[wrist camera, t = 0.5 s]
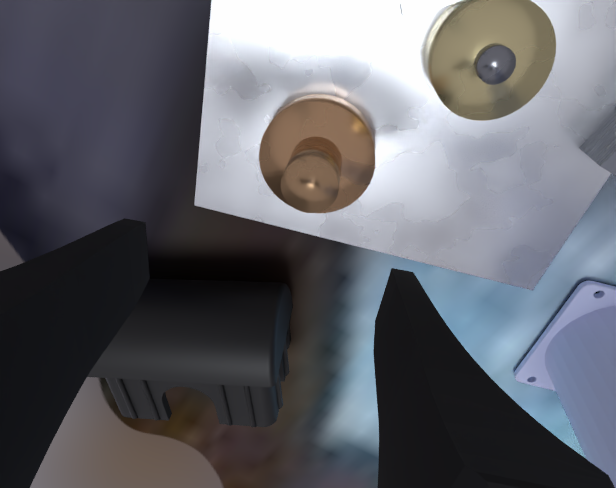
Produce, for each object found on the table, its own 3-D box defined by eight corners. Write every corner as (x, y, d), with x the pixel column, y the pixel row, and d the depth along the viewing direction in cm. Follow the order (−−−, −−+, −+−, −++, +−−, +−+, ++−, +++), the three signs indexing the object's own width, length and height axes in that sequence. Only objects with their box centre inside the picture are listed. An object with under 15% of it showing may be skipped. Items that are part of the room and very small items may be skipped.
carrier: (874, -258, 12) (1063, -341, 9) (526, 278, 23) (553, 331, 20) (259, -437, 12) (217, -595, 8) (200, 196, 23) (172, 236, 19)
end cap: (291, 253, 24) (268, 340, 19) (299, 344, 28) (282, 439, 22) (124, 250, 26) (55, 330, 20) (153, 337, 29) (102, 426, 24)
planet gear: (390, 110, 18) (395, 142, 15) (357, 210, 21) (355, 256, 18) (276, 80, 18) (255, 105, 15) (257, 184, 21) (236, 226, 18)
